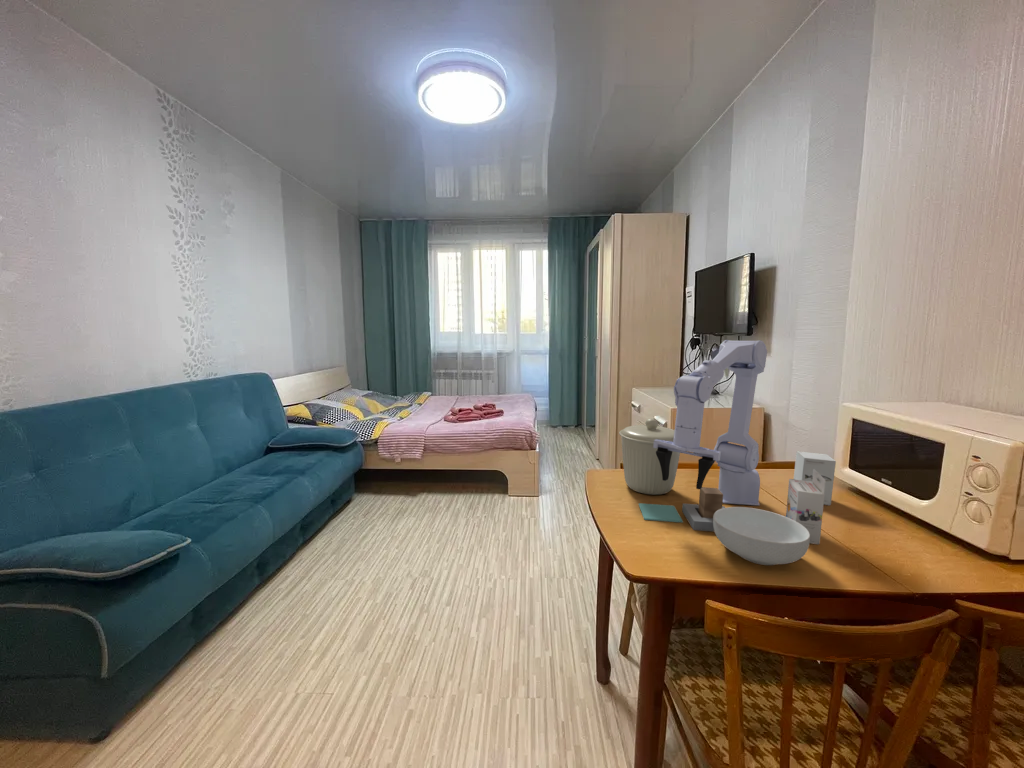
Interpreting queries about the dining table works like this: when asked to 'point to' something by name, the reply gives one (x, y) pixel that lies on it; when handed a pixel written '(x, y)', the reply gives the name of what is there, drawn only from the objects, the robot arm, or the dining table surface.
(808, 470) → the supplement box
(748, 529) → the cereal bowl
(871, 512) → the dining table surface
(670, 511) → the mat
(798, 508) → the ink box
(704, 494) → the walnut block
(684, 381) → the robot arm
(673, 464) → the canister
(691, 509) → the pocket plate
